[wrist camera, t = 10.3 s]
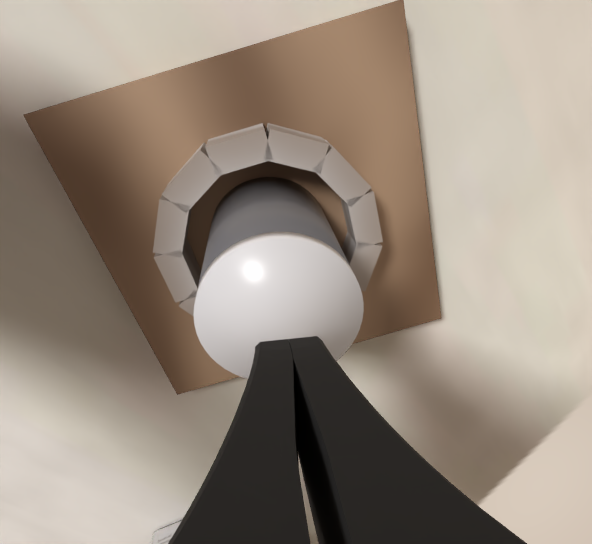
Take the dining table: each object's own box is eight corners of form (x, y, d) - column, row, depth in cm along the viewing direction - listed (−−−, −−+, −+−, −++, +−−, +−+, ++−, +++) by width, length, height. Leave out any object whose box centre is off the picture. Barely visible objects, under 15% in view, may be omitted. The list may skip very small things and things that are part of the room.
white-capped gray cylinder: (217, 287, 17) (204, 389, 12) (204, 179, 15) (181, 245, 10) (325, 280, 18) (359, 375, 12) (327, 174, 16) (368, 234, 10)
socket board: (180, 380, 21) (172, 418, 18) (36, 111, 15) (-1, 120, 12) (432, 307, 20) (456, 336, 18) (393, 2, 14) (421, -9, 12)
